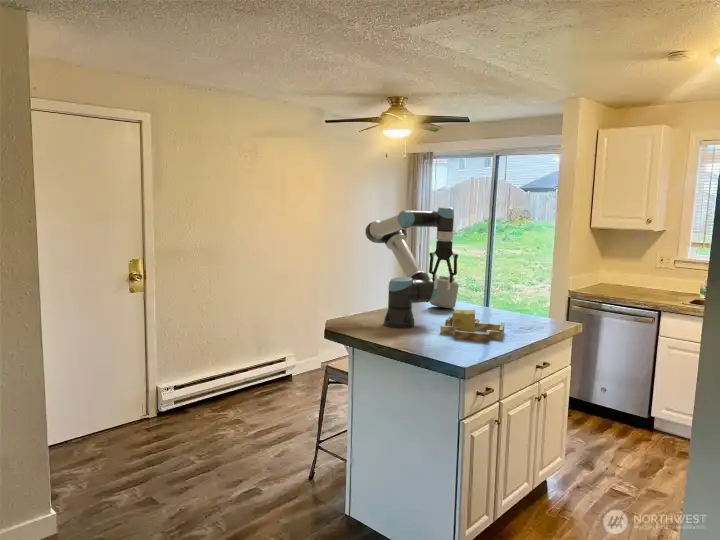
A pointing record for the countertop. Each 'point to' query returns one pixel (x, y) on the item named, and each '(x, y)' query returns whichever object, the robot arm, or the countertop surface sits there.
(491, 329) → the trap lane
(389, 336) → the countertop surface
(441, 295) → the jar
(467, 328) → the cheese
